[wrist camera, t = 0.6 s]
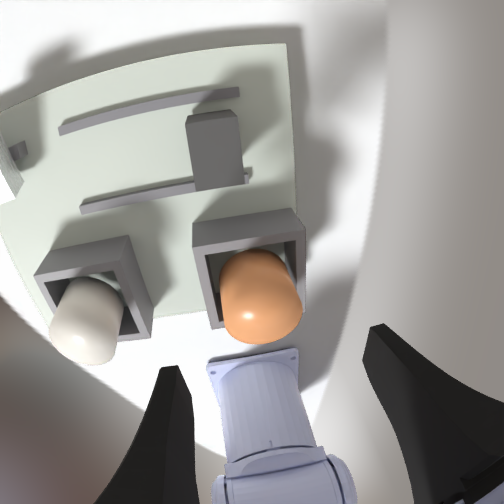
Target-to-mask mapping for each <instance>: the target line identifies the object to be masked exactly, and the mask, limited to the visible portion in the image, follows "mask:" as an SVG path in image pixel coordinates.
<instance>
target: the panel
mask: <svg viewBox="0 0 504 504" xmlns="http://www.w3.org/2000/svg"><path fill="white" fill-rule="evenodd" d="M228 109H231V110H232V111H233V112H234V113H235V114H236V115H237V116H238V122H239V131H240V140H241V149H242V158H243V167H244V177H245V184H244V185H237V186H230V187H224V188H218V189H211V190H205V191H199V192H196V189H195V183H194V178H193V172H192V166H191V160H190V154H189V148H188V141H187V135H186V129H185V122H186V119H187V116H188V115H194V114H200V113H207V112H213V111H220V110H228ZM0 132H1V134H2V136H3V139H4V141H5V143H6V145H7V147H8V150H9V152H10V154H11V156H12V158H13V160H14V162H15V164H16V166H17V168H18V170H19V172H20V174H21V176H22V178H23V180H24V183H23V185H22V187H21V189H20V191H19V193H18V194H17V196H16V198H15V199H13V200H10V201H7V202H4V203H1V204H0V234H1V236H2V239H3V241H4V244H5V246H6V248H7V250H8V253H9V255H10V257H11V259H12V261H13V263H14V266H15V268H16V270H17V272H18V274H19V276H20V278H21V280H22V282H23V284H24V286H25V288H26V289H27V291H28V293H29V295H30V297H31V299H32V301H33V302H34V304H35V306H36V308H37V309H38V311H39V313H40V315H41V316H42V318H43V320H44V321H45V323H46V325H47V326H48V328H49V326H50V323H51V321H52V319H53V316H54V314H55V312H56V309H57V307H58V305H59V303H60V300H61V298H62V296H63V294H64V292H65V290H66V288H67V286H68V285H69V283H70V282H72V281H73V280H75V279H77V278H81V277H93V278H97V279H100V280H102V281H104V282H106V283H108V284H109V285H111V286H112V287H113V288H114V289H115V290H116V291H117V292H118V293H119V295H120V296H121V298H122V301H123V305H124V311H123V316H122V321H121V325H120V330H119V335H118V340H117V342H122V341H131V340H140V339H148V338H151V331H152V322H153V318H159V317H166V316H173V315H180V314H187V313H193V312H200V311H206V310H207V313H208V317H209V321H210V325H211V329H219V328H225V325H224V318H223V310H222V303H221V295H220V287H219V274H220V271H221V269H222V267H223V265H224V264H225V263H226V262H227V261H228V260H229V259H230V258H231V257H232V256H234V255H235V254H237V253H239V252H242V251H245V250H249V249H265V250H268V251H271V252H273V253H275V254H276V255H278V256H279V257H280V258H281V259H282V260H283V262H284V264H285V266H286V268H287V270H288V273H289V275H290V277H291V280H292V282H293V284H294V286H295V289H296V291H297V293H298V295H299V298H300V300H301V302H302V306H303V313H305V299H306V229H305V228H304V226H303V225H302V223H301V222H300V220H299V219H298V217H297V208H296V182H295V161H294V142H293V125H292V110H291V96H290V83H289V71H288V60H287V49H286V43H282V44H258V45H244V46H233V47H223V48H215V49H207V50H200V51H193V52H187V53H181V54H175V55H170V56H165V57H160V58H155V59H150V60H146V61H141V62H137V63H133V64H129V65H125V66H121V67H118V68H114V69H110V70H107V71H104V72H100V73H97V74H94V75H91V76H87V77H84V78H81V79H78V80H75V81H73V82H70V83H67V84H64V85H62V86H59V87H56V88H54V89H51V90H49V91H46V92H44V93H41V94H39V95H36V96H34V97H32V98H29V99H27V100H25V101H23V102H20V103H18V104H16V105H14V106H12V107H10V108H8V109H6V110H4V111H2V112H0Z"/></svg>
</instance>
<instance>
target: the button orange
mask: <svg viewBox="0 0 504 504" xmlns="http://www.w3.org/2000/svg"><path fill="white" fill-rule="evenodd" d="M219 287H220V295H221V303H222V310H223V318H224V325H225V328H226V330H227V331H228V333H229V334H230V335H231V336H232V337H233V338H235V339H237V340H239V341H241V342H244V343H248V344H266V343H270V342H274V341H276V340H279V339H281V338H283V337H285V336H286V335H288V334H289V333H290V332H291V331H292V330H293V329H294V328H295V327H296V326H297V325H298V323H299V322H300V319H301V317H302V313H303V306H302V302H301V300H300V298H299V295H298V293H297V291H296V289H295V286H294V284H293V282H292V280H291V277H290V275H289V273H288V270H287V268H286V266H285V264H284V262H283V260H282V259H281V258H280V257H279V256H278V255H276V254H275V253H273V252H271V251H268V250H265V249H249V250H245V251H242V252H239V253H237V254H235V255H234V256H232V257H231V258H230V259H229V260H228V261H227V262H226V263H225V264H224V265H223V267H222V269H221V271H220V274H219Z"/></svg>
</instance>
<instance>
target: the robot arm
mask: <svg viewBox="0 0 504 504" xmlns="http://www.w3.org/2000/svg"><path fill="white" fill-rule="evenodd" d="M362 361H363V364H364V367H365V370H366V373H367V375H368V378H369V380H370V383H371V385H372V387H373V389H374V391H375V393H376V395H377V397H378V399H379V401H380V403H381V405H382V406H383V408H384V410H385V412H386V414H387V416H388V418H389V420H390V422H391V424H392V426H393V428H394V431H395V433H396V436H397V439H398V441H399V445H400V447H401V450H402V453H403V457H404V460H405V464H406V467H407V471H408V474H409V479H410V482H411V488H412V493H413V498H414V504H504V403H503V402H501V401H498V400H495V399H493V398H490V397H488V396H486V395H484V394H482V393H480V392H478V391H476V390H474V389H472V388H470V387H468V386H466V385H465V384H463V383H461V382H459V381H458V380H456V379H455V378H453V377H451V376H450V375H448V374H447V373H445V372H444V371H443V370H441V369H440V368H438V367H437V366H436V365H434V364H433V363H432V362H430V361H429V360H428V359H426V358H425V357H424V356H423V355H421V354H420V353H419V352H417V351H416V350H415V349H414V348H413V347H411V346H410V345H409V344H408V343H407V342H405V341H404V340H403V339H402V338H401V337H400V336H398V335H397V334H396V333H395V332H394V331H392V330H391V329H390V328H389V327H388V326H386V325H385V324H384V323H383V324H380V325H376V326H373V327H370V330H369V334H368V339H367V343H366V347H365V351H364V355H363V360H362ZM206 370H207V373H208V376H209V379H210V382H211V384H212V387H213V390H214V393H215V396H216V398H217V401H218V404H219V407H220V411H221V419H222V427H223V434H224V442H225V449H226V456H227V463H228V464H225V465H224V466H225V473H226V475H219V476H218V477H217V478H216V480H215V481H214V482H213V483H212V488H211V496H212V504H358V503H357V493H356V489H355V485H354V482H353V479H352V476H351V473H350V471H349V469H348V467H347V466H346V464H345V463H344V462H343V461H342V460H341V459H339V458H337V457H336V456H335V455H333V454H330V455H326V454H325V451H324V448H323V446H320V447H317V445H316V442H315V439H314V436H313V432H312V429H311V426H310V423H309V420H308V417H307V414H306V410H305V407H304V404H303V401H302V398H301V395H300V392H299V388H298V371H299V352H298V349H297V348H291V349H286V350H281V351H276V352H271V353H266V354H260V355H255V356H249V357H244V358H238V359H232V360H226V361H219V362H213V363H209V364H207V365H206ZM194 445H195V440H194V413H193V405H192V397H191V394H190V391H189V389H188V387H187V385H186V383H185V380H184V378H183V376H182V374H181V371H180V369H179V367H178V365H176V366H168V367H161V369H160V370H159V374H158V377H157V380H156V383H155V387H154V390H153V393H152V395H151V398H150V401H149V404H148V406H147V409H146V411H145V414H144V417H143V419H142V422H141V424H140V426H139V429H138V431H137V433H136V435H135V437H134V440H133V442H132V444H131V446H130V448H129V450H128V452H127V454H126V455H125V457H124V459H123V461H122V463H121V465H120V466H119V468H118V469H117V471H116V473H115V474H114V476H113V478H112V479H111V481H110V482H109V484H108V485H107V487H106V488H105V489H104V491H103V492H102V493H101V495H100V496H99V497H98V499H97V500H96V501H95V503H94V504H200V503H199V497H198V491H197V484H196V475H195V446H194Z"/></svg>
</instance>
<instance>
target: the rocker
mask: <svg viewBox="0 0 504 504" xmlns="http://www.w3.org/2000/svg"><path fill="white" fill-rule="evenodd" d="M23 183H24V180H23V178H22V176H21V174H20V172H19V170H18V168H17V166H16V164H15V162H14V160H13V158H12V156H11V154H10V152H9V150H8V147H7V145H6V143H5V141H4V139H3V136H2V134H1V132H0V204H1V203H4V202H7V201H10V200H13V199H15V198H16V196H17V194H18V193H19V191H20V189H21V187H22V185H23Z"/></svg>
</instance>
